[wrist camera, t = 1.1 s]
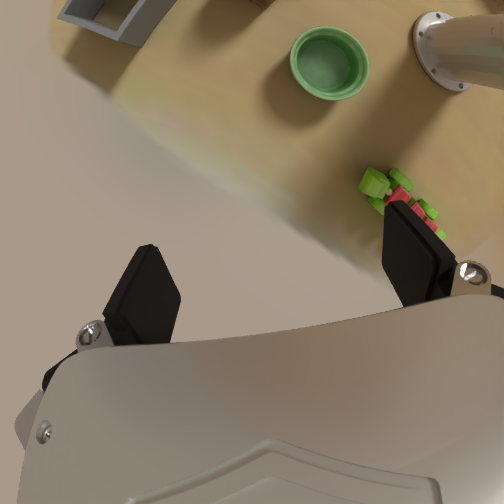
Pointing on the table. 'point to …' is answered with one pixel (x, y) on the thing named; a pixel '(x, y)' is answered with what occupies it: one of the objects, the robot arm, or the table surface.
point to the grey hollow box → (133, 27)
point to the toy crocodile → (396, 195)
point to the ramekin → (329, 63)
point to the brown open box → (262, 3)
